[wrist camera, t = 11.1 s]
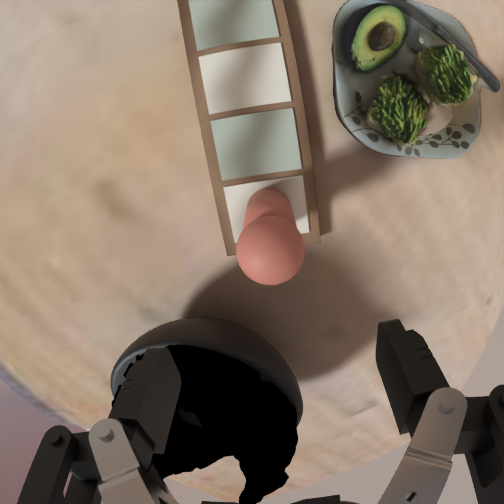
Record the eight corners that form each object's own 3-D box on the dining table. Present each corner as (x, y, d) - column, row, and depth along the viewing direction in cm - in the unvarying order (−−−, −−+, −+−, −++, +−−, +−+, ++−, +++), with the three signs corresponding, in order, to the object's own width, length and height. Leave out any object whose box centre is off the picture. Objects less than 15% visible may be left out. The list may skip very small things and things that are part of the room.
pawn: (290, 182, 26) (305, 226, 17) (296, 229, 28) (311, 293, 19) (240, 189, 27) (226, 236, 17) (248, 235, 29) (240, 302, 19)
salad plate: (485, 24, 19) (508, 18, 15) (486, 168, 26) (511, 178, 22) (325, -20, 20) (335, -40, 15) (329, 149, 27) (341, 156, 23)
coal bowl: (109, 308, 35) (37, 426, 18) (259, 254, 31) (253, 411, 14) (187, 407, 43) (164, 514, 26) (315, 378, 39) (331, 504, 22)
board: (276, -19, 20) (276, -26, 18) (318, 237, 30) (321, 243, 29) (180, -2, 21) (175, -8, 19) (228, 249, 31) (227, 257, 30)
